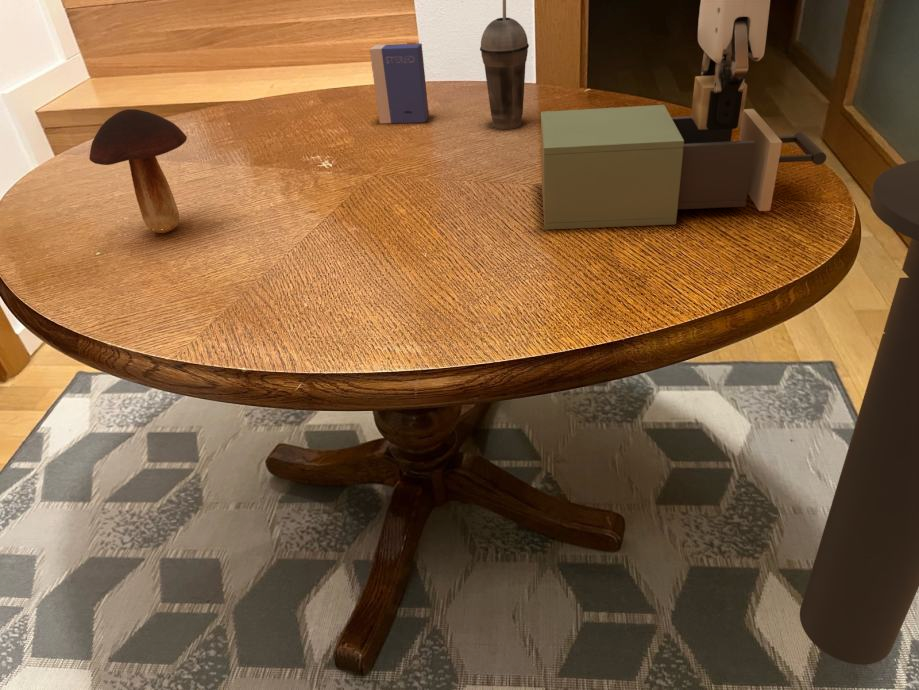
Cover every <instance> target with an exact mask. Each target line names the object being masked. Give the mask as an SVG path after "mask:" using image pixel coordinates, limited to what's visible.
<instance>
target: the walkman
mask: <svg viewBox="0 0 919 690" xmlns="http://www.w3.org/2000/svg"><path fill="white" fill-rule="evenodd" d="M369 55H370V62H371V71H372V78H373V85H374V93H375V101H376V107H377V113H378V122H379V124H412V123H413V124H415V123H416V124H417V123H426V122H427V121H428V119H429V118H430V114H429V102H428V93H427V83H426V73H425V72H426V71H425V63H424V53H423V44H422V42H421V43H416V41H407V42H406V43H399V44H397V43H396V44H395V43H394V44H393V43H392V44H375V45H374V46H372V47H370V48H369Z"/></svg>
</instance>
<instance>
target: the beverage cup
mask: <svg viewBox="0 0 919 690" xmlns="http://www.w3.org/2000/svg"><path fill="white" fill-rule="evenodd" d="M529 47H530V44H529V41H528V36H527V33H526V31H525V28H524V27H523V26H522V25H521V24H520V22H519V21H517V20H516V19H514V18H512V17H507V0H502V17H498V18H496V19H494V20H492V21H491V22H490V23H489V24H488V25H487V26H486V28H485V29H484V30H483V33H482V36H481V40H480V47H479V51H480V52H481V59H482V63H483V66H484V71H485V72H484V73H485V79H486V87H487V94H488V102H489V109H490V116H491V120H492V121H491V122H492V126H493V127H494V129H499V130H512V129H516V128H519V127H521V126H522V123H523V121H522V120H523V114H524V99H525V82H526V80H525V79H526V64H527V63H526V62H527V58H528V53H529Z"/></svg>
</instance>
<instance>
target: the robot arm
mask: <svg viewBox="0 0 919 690" xmlns="http://www.w3.org/2000/svg"><path fill="white" fill-rule="evenodd" d="M770 7H771V0H700V4H699V13H698V23H697V24H698V25H697V43H698V45H699V46H700V48H701V49H702V50H703V56H702V62H701V68H700V76H713V75H715V80H714V91H710V99H709V107H708V116H707V124H706V126H707V128H708V129H709V130H723V129H732V130H735V129H738V128H737V127H738V122H739V115H740V108H741V101H742V94H743V89H744V82H745V79H746V77H747V76H746V75H747V73H748V71H749V58H750V59H751V60H752V61H753V62H759V61H761V59H762V58H763V57H764V56H765V51H766V42H767V35H768V34H767V33H768V27H769V26H768V24H769V16H770ZM723 75H724V76H723Z"/></svg>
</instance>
